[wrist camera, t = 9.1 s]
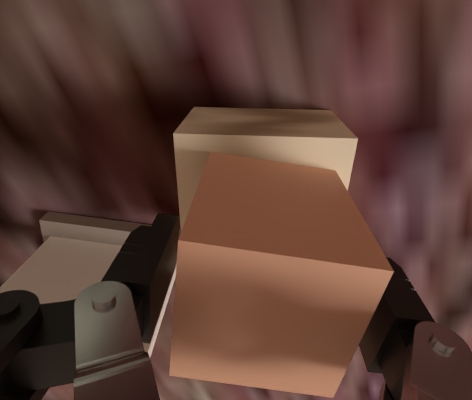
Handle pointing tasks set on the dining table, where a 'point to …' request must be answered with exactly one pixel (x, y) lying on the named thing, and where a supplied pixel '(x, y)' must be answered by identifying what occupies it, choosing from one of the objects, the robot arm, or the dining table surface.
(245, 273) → the terracotta block
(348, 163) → the beech base block
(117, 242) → the board
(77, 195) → the dining table surface
